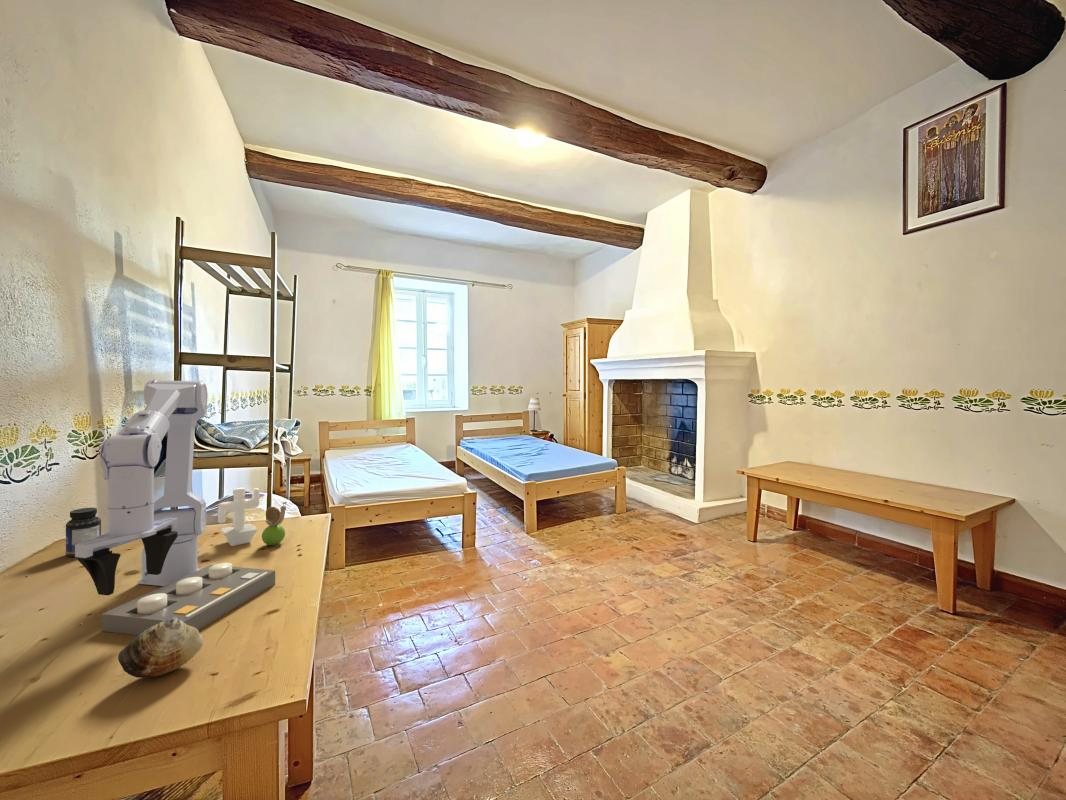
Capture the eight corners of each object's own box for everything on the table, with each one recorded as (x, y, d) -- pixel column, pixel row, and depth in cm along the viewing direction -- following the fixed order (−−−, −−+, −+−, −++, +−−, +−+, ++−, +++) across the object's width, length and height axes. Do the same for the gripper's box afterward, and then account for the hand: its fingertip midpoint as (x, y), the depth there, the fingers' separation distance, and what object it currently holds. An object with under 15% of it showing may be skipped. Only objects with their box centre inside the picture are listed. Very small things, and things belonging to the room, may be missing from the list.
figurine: (215, 542, 115) (215, 488, 115) (256, 534, 122) (256, 483, 121) (220, 550, 110) (220, 493, 109) (262, 541, 116) (262, 487, 116)
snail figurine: (277, 549, 111) (277, 504, 111) (256, 547, 112) (257, 502, 112) (292, 542, 116) (293, 499, 116) (273, 540, 117) (273, 497, 117)
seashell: (202, 651, 68) (202, 603, 68) (203, 670, 63) (204, 618, 63) (120, 676, 62) (120, 622, 62) (115, 698, 57) (115, 641, 57)
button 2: (203, 584, 88) (203, 569, 88) (220, 575, 92) (220, 562, 92) (220, 585, 87) (220, 571, 87) (236, 577, 91) (236, 563, 91)
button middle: (170, 600, 81) (170, 585, 81) (190, 590, 85) (190, 576, 85) (188, 602, 80) (188, 586, 80) (207, 592, 84) (207, 577, 84)
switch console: (101, 630, 73) (101, 612, 73) (210, 578, 94) (210, 563, 94) (182, 640, 71) (182, 621, 71) (275, 584, 91) (275, 569, 91)
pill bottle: (69, 551, 107) (69, 508, 106) (103, 546, 110) (103, 505, 110) (62, 559, 102) (62, 514, 102) (97, 554, 105) (97, 511, 105)
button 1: (130, 620, 74) (130, 603, 74) (154, 608, 78) (154, 592, 78) (150, 622, 73) (150, 605, 73) (173, 610, 77) (173, 594, 77)
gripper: (102, 518, 64) (102, 606, 64) (192, 495, 78) (191, 567, 78) (63, 515, 65) (63, 602, 65) (159, 493, 79) (159, 564, 79)
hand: (131, 583), depth 72 cm, fingers open, 7 cm apart
